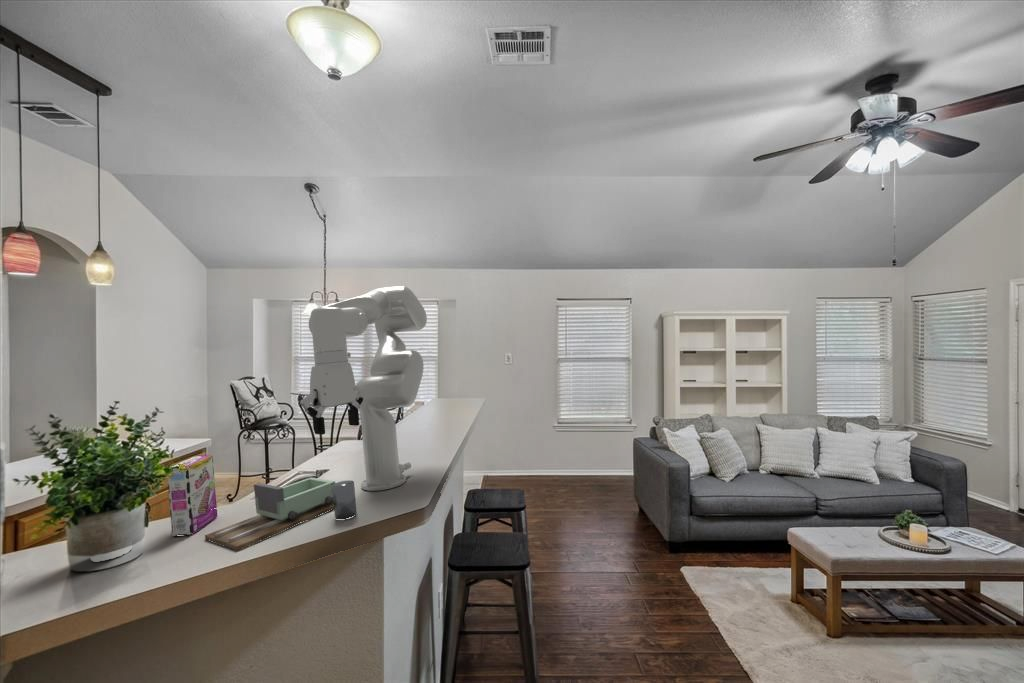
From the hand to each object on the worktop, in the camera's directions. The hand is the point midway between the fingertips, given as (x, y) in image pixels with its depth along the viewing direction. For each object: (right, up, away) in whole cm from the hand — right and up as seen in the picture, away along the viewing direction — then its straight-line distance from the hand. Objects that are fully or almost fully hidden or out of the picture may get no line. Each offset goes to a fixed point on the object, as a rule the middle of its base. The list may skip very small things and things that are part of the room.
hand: (337, 429), depth 113 cm
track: (-14, -23, +2) cm, 27 cm away
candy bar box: (-35, -25, +2) cm, 43 cm away
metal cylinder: (+2, -21, +1) cm, 21 cm away
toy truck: (-12, -21, +5) cm, 25 cm away
